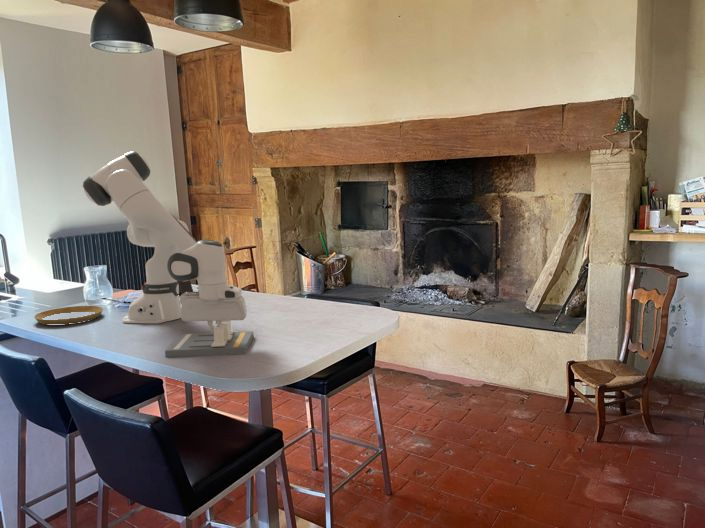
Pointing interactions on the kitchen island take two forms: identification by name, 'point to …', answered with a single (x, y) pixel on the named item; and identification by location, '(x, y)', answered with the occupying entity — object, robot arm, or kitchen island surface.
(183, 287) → the phone stand
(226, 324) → the switch mid
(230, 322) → the switch far
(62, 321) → the plant saucer
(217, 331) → the switch near
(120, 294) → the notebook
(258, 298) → the kitchen island surface
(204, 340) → the switch board
